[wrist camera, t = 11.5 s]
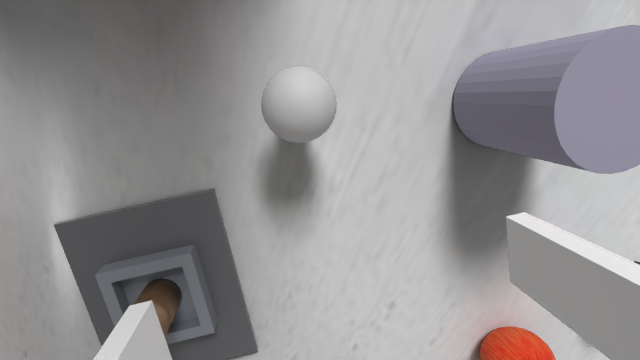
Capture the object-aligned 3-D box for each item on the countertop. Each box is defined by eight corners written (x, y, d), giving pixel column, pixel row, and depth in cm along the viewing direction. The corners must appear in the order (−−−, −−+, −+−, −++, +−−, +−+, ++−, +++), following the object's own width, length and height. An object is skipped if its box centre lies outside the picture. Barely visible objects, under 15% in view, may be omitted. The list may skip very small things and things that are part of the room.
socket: (57, 222, 37) (39, 233, 35) (214, 188, 39) (209, 196, 36) (120, 383, 42) (109, 403, 39) (257, 348, 44) (256, 365, 41)
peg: (137, 283, 39) (93, 346, 29) (175, 274, 39) (144, 333, 29) (149, 316, 40) (110, 387, 30) (186, 307, 40) (159, 373, 30)
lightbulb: (295, 145, 39) (304, 163, 28) (250, 104, 37) (242, 108, 27) (334, 102, 38) (359, 104, 28) (291, 59, 37) (299, 44, 26)
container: (434, 89, 39) (529, 85, 25) (513, 30, 39) (655, -8, 25) (480, 164, 42) (590, 201, 28) (554, 110, 42) (704, 118, 27)
